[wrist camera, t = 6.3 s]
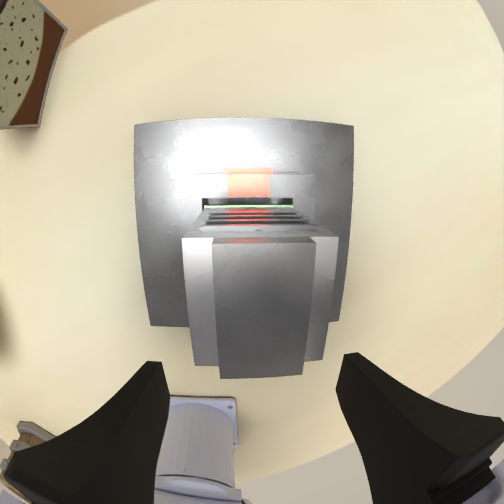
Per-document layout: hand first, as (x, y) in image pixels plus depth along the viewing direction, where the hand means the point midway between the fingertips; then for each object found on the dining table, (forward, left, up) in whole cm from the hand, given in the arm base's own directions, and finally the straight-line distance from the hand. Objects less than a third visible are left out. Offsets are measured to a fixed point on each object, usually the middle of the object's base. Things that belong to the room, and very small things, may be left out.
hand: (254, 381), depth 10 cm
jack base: (+4, 0, -10) cm, 11 cm away
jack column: (+4, 0, -5) cm, 7 cm away
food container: (+18, +19, -11) cm, 28 cm away
